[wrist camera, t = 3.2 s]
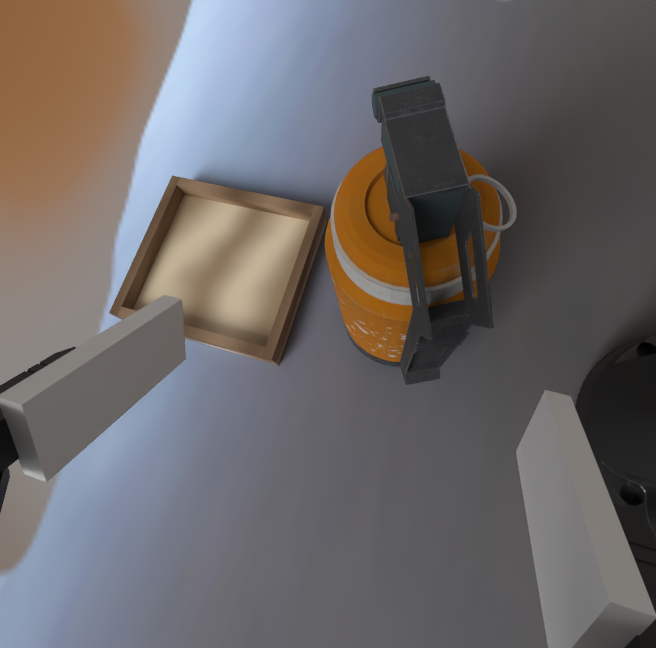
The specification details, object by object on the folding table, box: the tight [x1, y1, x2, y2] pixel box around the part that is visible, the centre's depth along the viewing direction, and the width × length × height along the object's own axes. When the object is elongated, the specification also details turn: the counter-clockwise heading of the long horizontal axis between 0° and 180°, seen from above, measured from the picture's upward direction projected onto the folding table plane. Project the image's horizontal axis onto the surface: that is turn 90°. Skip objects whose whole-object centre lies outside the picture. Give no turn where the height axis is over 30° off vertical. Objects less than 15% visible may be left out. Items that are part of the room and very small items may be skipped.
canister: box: [325, 76, 517, 385], centre depth 23 cm, size 9×11×20 cm
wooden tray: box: [109, 176, 327, 365], centre depth 35 cm, size 15×14×2 cm
